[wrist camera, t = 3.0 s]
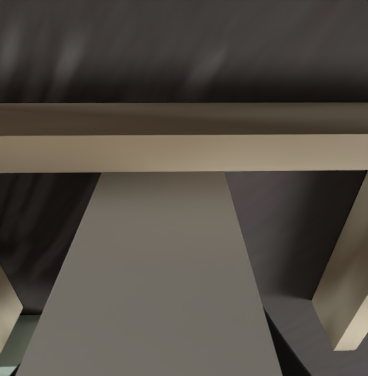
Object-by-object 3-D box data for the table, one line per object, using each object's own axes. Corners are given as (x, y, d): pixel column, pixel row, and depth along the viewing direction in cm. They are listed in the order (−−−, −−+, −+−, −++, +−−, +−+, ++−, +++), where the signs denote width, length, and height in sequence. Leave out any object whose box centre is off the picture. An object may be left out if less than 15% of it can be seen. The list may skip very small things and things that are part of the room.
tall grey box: (207, 309, 15) (228, 510, 9) (131, 310, 15) (102, 516, 9) (221, 161, 10) (288, 397, 4) (106, 162, 10) (2, 405, 4)
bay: (329, 300, 15) (355, 350, 13) (3, 307, 14) (-26, 359, 12) (428, 102, 9) (505, 133, 7) (-120, 103, 8) (-216, 137, 6)
